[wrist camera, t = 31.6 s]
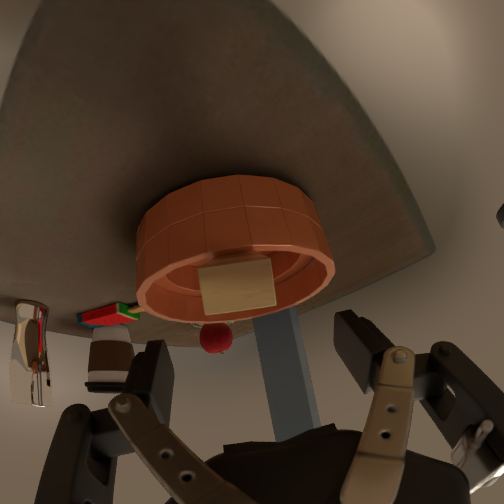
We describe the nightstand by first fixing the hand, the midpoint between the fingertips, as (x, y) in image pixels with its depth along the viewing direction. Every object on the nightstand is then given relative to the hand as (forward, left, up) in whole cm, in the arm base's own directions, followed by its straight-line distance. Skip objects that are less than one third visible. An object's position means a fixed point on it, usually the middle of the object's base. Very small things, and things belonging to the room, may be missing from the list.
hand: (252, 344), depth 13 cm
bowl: (+5, +7, -11) cm, 14 cm away
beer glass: (+37, -3, -12) cm, 39 cm away
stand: (+11, +23, -11) cm, 28 cm away
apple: (+25, +26, -12) cm, 38 cm away
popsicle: (+29, +9, -12) cm, 33 cm away
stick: (+2, +3, -5) cm, 6 cm away
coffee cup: (+39, +13, -12) cm, 43 cm away
